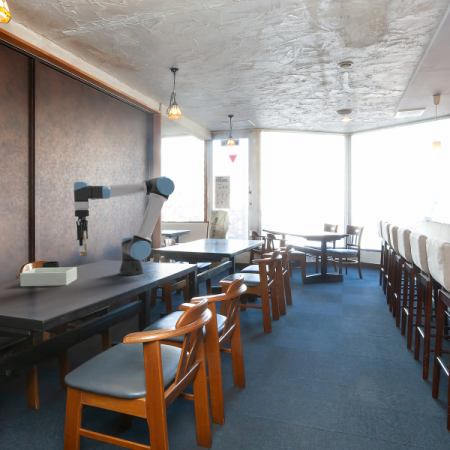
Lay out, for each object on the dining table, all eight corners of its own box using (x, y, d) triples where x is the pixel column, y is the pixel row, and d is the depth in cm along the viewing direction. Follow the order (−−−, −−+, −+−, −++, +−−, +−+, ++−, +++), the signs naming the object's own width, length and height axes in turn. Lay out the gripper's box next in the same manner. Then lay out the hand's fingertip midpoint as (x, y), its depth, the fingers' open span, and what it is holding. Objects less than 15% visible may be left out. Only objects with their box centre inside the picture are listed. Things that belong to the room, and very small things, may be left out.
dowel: (87, 255, 211) (87, 230, 210) (85, 256, 207) (84, 231, 206) (80, 255, 210) (79, 230, 210) (78, 256, 206) (77, 231, 206)
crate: (77, 278, 219) (76, 267, 219) (66, 285, 201) (66, 272, 201) (35, 279, 217) (34, 268, 217) (20, 286, 200) (20, 273, 199)
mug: (55, 279, 220) (55, 263, 220) (38, 278, 223) (38, 263, 222) (66, 276, 229) (65, 261, 229) (49, 275, 232) (49, 261, 232)
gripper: (79, 209, 215) (81, 249, 216) (69, 209, 198) (71, 253, 199) (92, 209, 216) (94, 249, 217) (83, 209, 199) (85, 252, 200)
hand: (83, 251), depth 208 cm, fingers closed on dowel, 4 cm apart
